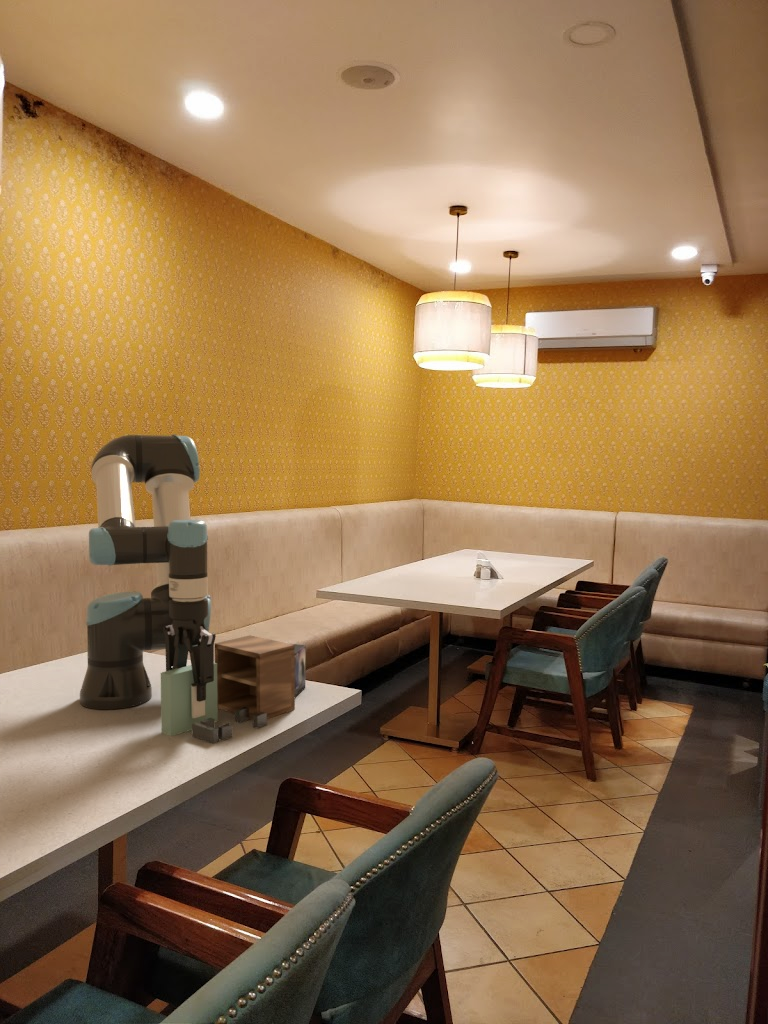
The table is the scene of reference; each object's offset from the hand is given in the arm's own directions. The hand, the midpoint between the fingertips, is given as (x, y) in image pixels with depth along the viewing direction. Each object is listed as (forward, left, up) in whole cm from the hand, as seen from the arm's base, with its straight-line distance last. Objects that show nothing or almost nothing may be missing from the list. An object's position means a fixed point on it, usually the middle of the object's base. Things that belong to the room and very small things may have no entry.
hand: (190, 713), depth 162 cm
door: (0, 0, -3) cm, 3 cm away
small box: (-1, +28, -3) cm, 28 cm away
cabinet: (+1, +16, -3) cm, 16 cm away
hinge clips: (+8, +3, -3) cm, 9 cm away
